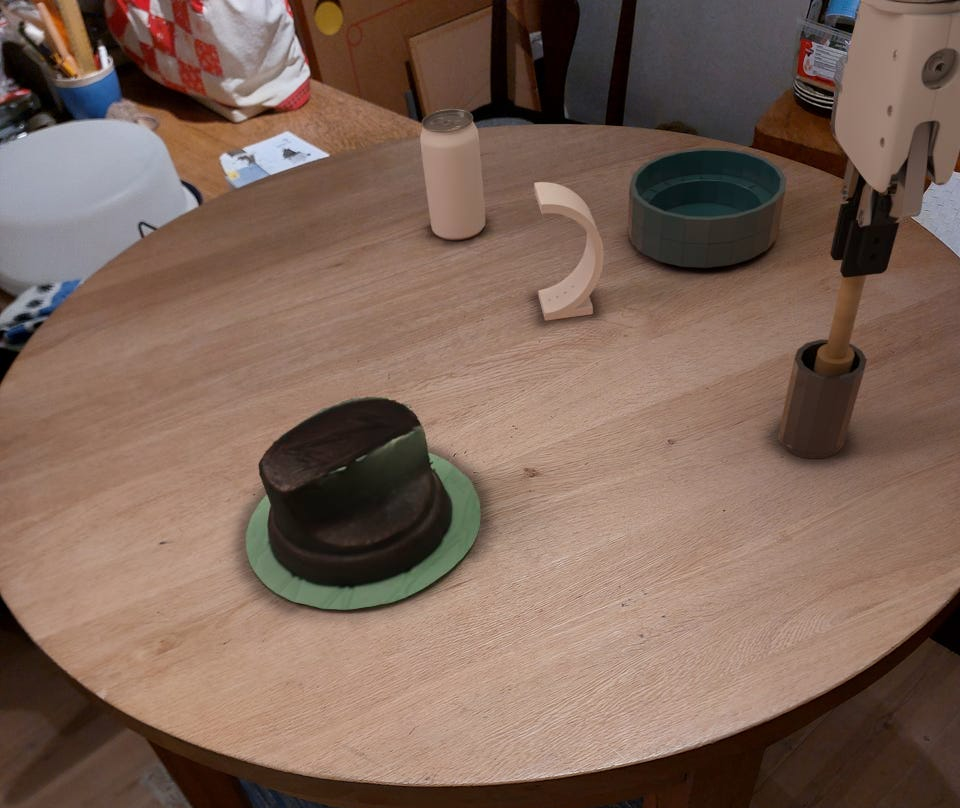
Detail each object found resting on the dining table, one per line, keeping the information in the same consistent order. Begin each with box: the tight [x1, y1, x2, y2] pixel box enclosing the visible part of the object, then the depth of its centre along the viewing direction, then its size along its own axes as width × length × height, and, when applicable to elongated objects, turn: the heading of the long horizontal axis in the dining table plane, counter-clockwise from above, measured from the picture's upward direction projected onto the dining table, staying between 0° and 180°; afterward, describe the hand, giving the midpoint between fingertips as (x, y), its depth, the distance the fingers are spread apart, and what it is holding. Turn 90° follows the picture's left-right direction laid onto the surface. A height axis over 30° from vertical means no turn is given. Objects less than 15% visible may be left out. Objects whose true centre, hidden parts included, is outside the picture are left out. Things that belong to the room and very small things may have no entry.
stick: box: [813, 186, 889, 376], centre depth 68 cm, size 3×3×17 cm
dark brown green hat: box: [245, 396, 482, 611], centre depth 74 cm, size 15×19×20 cm
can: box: [419, 108, 486, 241], centre depth 102 cm, size 6×6×12 cm
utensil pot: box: [778, 339, 868, 460], centre depth 75 cm, size 5×6×8 cm
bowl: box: [627, 147, 788, 269], centre depth 98 cm, size 16×16×6 cm
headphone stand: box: [533, 181, 605, 322], centre depth 90 cm, size 5×6×12 cm
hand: (857, 263), depth 66 cm, fingers closed on stick
